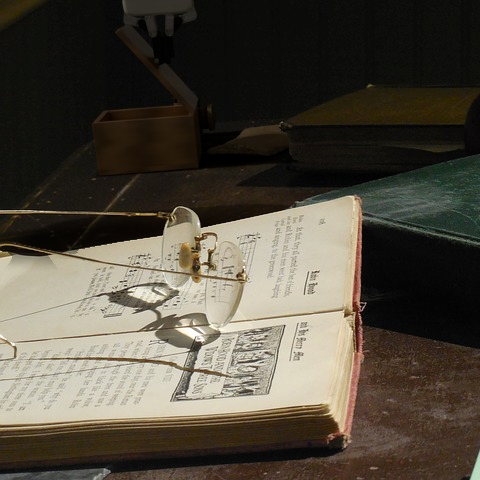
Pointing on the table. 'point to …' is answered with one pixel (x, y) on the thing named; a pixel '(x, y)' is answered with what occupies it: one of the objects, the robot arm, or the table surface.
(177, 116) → the chest
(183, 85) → the lid
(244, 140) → the stone
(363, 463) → the table surface
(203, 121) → the camera
